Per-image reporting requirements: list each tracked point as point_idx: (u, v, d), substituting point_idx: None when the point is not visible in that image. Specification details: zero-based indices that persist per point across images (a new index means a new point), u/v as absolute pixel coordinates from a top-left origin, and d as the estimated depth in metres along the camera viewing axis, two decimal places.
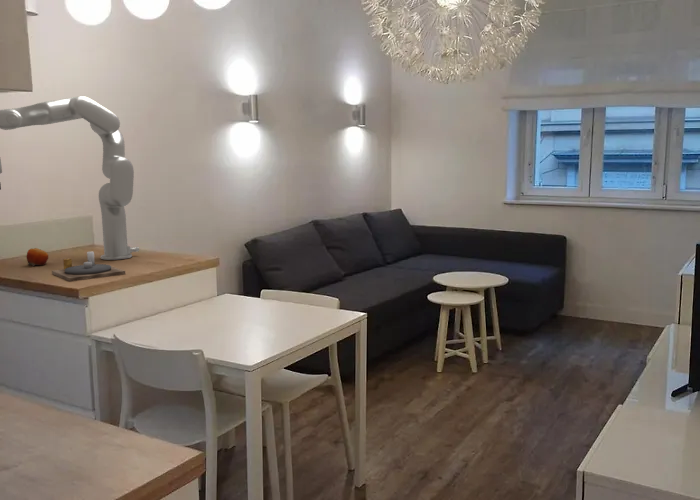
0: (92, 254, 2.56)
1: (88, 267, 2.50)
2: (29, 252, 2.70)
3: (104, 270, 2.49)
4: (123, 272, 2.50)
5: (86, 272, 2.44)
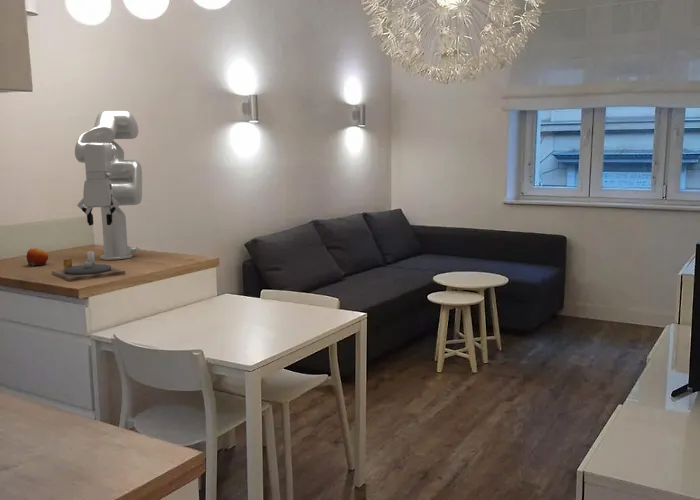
0: (92, 254, 2.56)
1: (88, 267, 2.50)
2: (29, 252, 2.70)
3: (104, 270, 2.49)
4: (123, 272, 2.50)
5: (86, 272, 2.44)
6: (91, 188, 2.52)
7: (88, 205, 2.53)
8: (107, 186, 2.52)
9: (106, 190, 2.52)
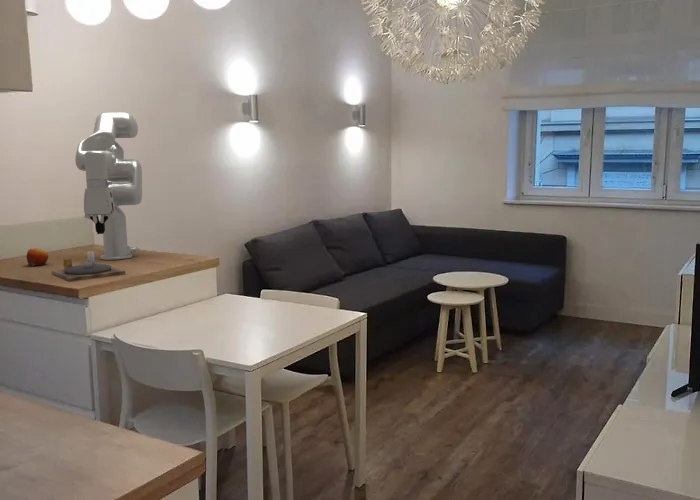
0: (92, 254, 2.56)
1: (88, 267, 2.50)
2: (29, 252, 2.70)
3: (104, 270, 2.49)
4: (123, 272, 2.50)
5: (86, 272, 2.44)
6: (92, 196, 2.52)
7: (88, 213, 2.53)
8: (107, 194, 2.52)
9: (106, 198, 2.52)
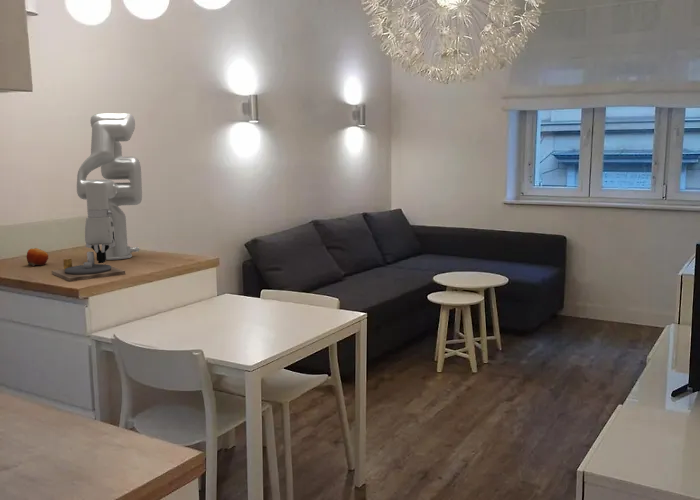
0: (92, 254, 2.56)
1: (88, 267, 2.50)
2: (29, 252, 2.70)
3: (104, 270, 2.49)
4: (123, 272, 2.50)
5: (86, 272, 2.44)
6: (93, 226, 2.54)
7: (90, 242, 2.55)
8: (109, 224, 2.54)
9: (108, 228, 2.54)
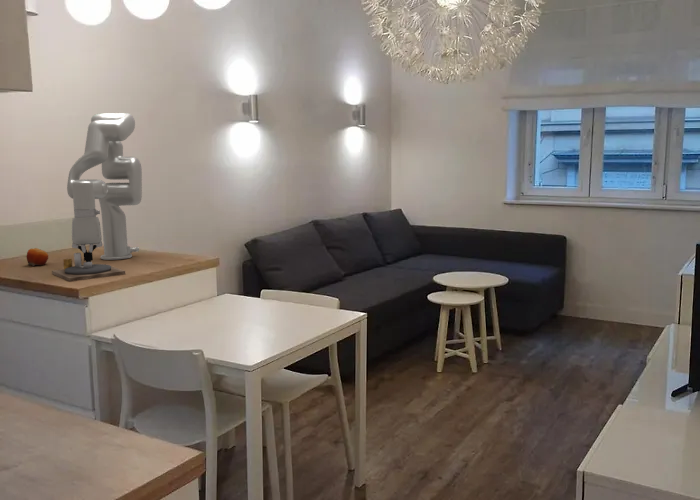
0: (80, 255, 2.55)
1: (91, 267, 2.51)
2: (29, 252, 2.70)
3: None
4: (123, 272, 2.50)
5: (103, 270, 2.48)
6: (81, 226, 2.53)
7: (77, 243, 2.53)
8: (97, 223, 2.55)
9: (96, 227, 2.55)
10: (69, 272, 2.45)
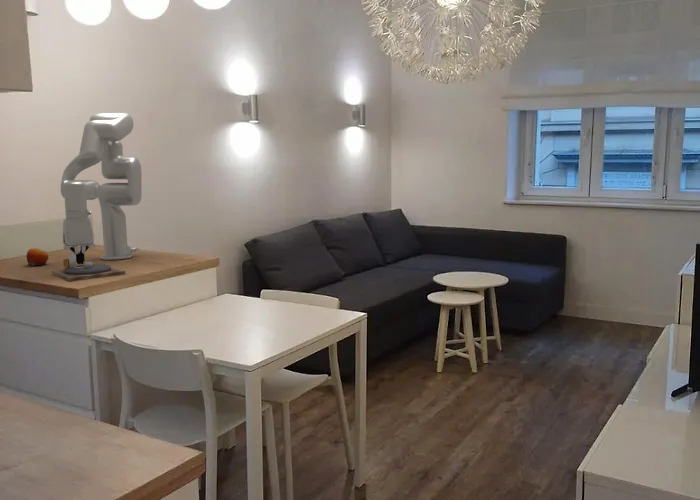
0: None
1: (92, 266, 2.52)
2: (29, 252, 2.70)
3: None
4: (123, 272, 2.50)
5: (109, 268, 2.51)
6: (75, 227, 2.51)
7: (71, 244, 2.52)
8: (90, 224, 2.55)
9: (90, 228, 2.55)
10: (77, 272, 2.44)
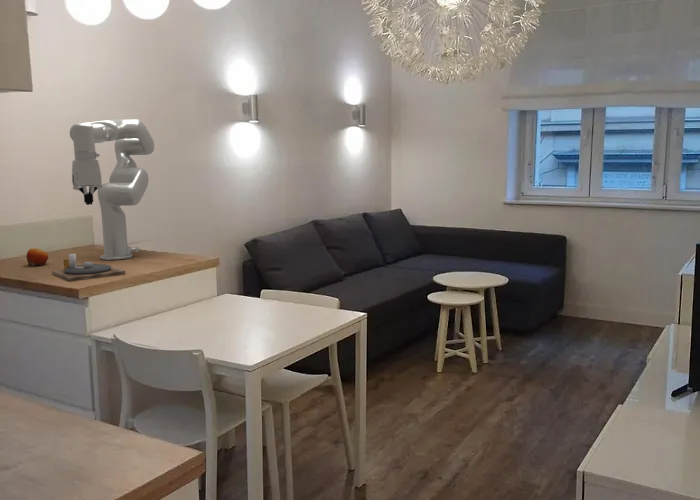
0: None
1: (92, 266, 2.52)
2: (29, 252, 2.70)
3: None
4: (123, 272, 2.50)
5: (109, 268, 2.51)
6: (84, 168, 2.59)
7: (80, 184, 2.60)
8: (98, 165, 2.63)
9: (98, 169, 2.63)
10: (77, 272, 2.44)
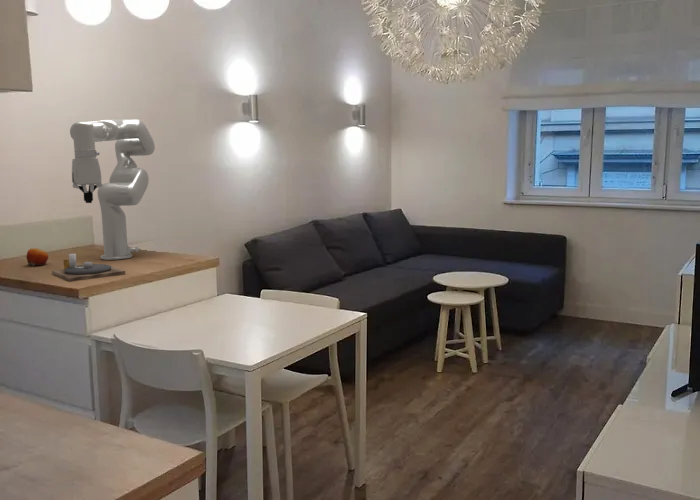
0: None
1: (92, 266, 2.52)
2: (29, 252, 2.70)
3: None
4: (123, 272, 2.50)
5: (109, 268, 2.51)
6: (84, 166, 2.59)
7: (80, 182, 2.60)
8: (98, 164, 2.63)
9: (98, 167, 2.63)
10: (77, 272, 2.44)
